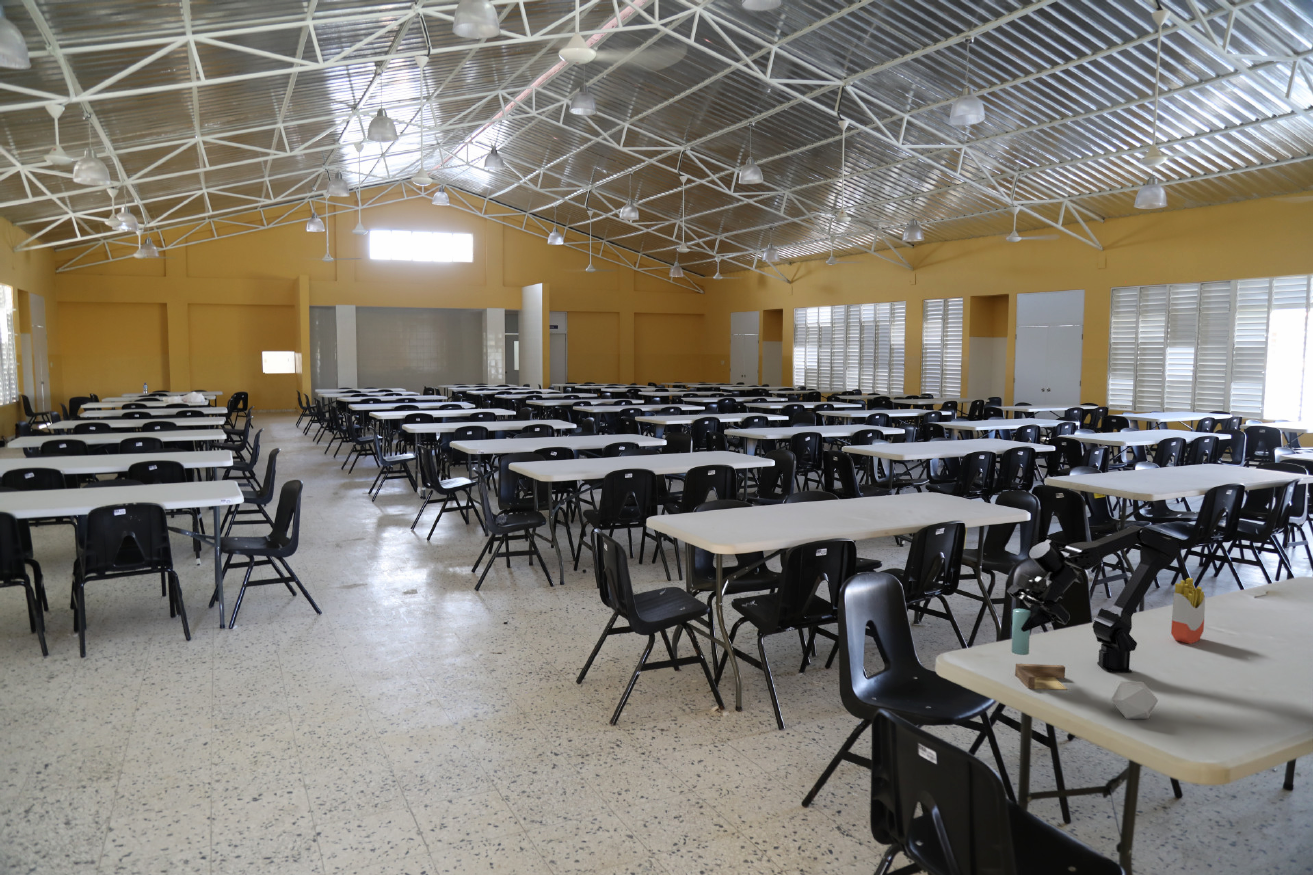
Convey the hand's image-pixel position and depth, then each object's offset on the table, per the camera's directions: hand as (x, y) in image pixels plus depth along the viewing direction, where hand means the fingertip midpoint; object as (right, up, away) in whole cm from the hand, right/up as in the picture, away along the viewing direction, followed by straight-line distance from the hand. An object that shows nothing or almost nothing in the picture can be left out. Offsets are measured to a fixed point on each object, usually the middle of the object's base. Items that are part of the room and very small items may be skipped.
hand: (1016, 627), depth 222 cm
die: (+17, -15, -23) cm, 33 cm away
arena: (+6, -13, -4) cm, 15 cm away
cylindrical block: (+1, -7, +1) cm, 7 cm away
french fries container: (+64, -11, +32) cm, 73 cm away
